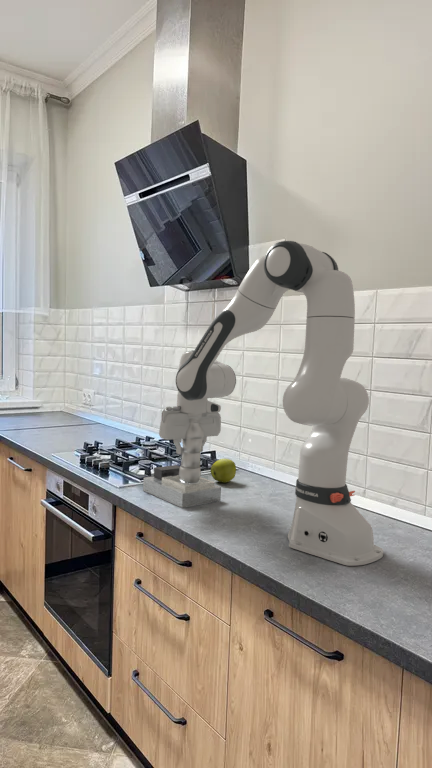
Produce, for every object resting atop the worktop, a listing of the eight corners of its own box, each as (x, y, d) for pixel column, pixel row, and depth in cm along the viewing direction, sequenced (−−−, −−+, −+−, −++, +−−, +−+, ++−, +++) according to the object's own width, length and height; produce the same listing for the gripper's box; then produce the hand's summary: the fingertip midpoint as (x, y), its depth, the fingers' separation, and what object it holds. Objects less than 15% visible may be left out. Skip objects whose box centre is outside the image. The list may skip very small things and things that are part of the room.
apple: (241, 483, 177) (242, 460, 177) (219, 486, 172) (220, 462, 172) (227, 478, 184) (229, 455, 183) (205, 480, 179) (207, 457, 178)
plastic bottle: (174, 483, 154) (179, 415, 152) (183, 478, 160) (188, 412, 159) (194, 487, 152) (200, 418, 150) (203, 481, 158) (208, 415, 156)
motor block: (220, 500, 156) (221, 477, 156) (181, 507, 147) (183, 482, 147) (174, 482, 174) (175, 461, 173) (137, 488, 165) (138, 465, 164)
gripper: (168, 408, 146) (166, 458, 147) (225, 406, 159) (222, 451, 160) (156, 405, 151) (153, 453, 152) (211, 403, 164) (209, 448, 165)
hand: (189, 452), depth 156 cm, fingers closed on plastic bottle, 6 cm apart
